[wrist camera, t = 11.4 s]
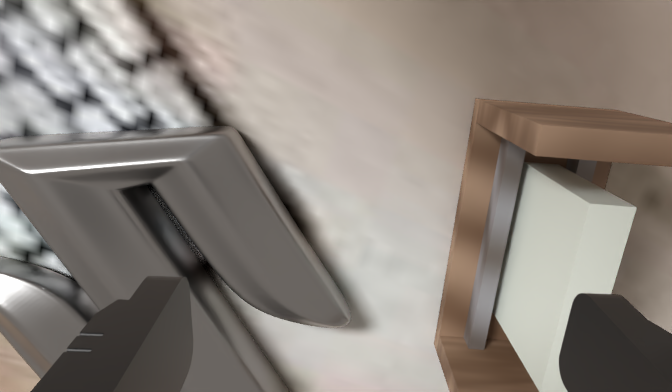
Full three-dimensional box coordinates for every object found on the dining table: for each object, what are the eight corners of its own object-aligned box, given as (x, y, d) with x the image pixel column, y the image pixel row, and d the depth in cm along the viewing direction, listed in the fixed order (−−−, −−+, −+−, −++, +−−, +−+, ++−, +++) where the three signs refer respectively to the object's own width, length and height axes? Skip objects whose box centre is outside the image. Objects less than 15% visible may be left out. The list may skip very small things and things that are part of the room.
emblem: (-116, 380, 34) (-1, 21, 26) (-57, 336, 39) (53, 25, 31) (236, 520, 38) (420, 245, 31) (247, 463, 43) (408, 216, 36)
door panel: (523, 161, 33) (589, 203, 24) (562, 164, 33) (642, 207, 24) (492, 310, 37) (539, 392, 28) (527, 313, 37) (585, 395, 28)
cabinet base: (475, 98, 33) (541, 124, 22) (617, 110, 33) (748, 141, 22) (434, 343, 39) (470, 455, 28) (553, 351, 39) (633, 465, 29)
